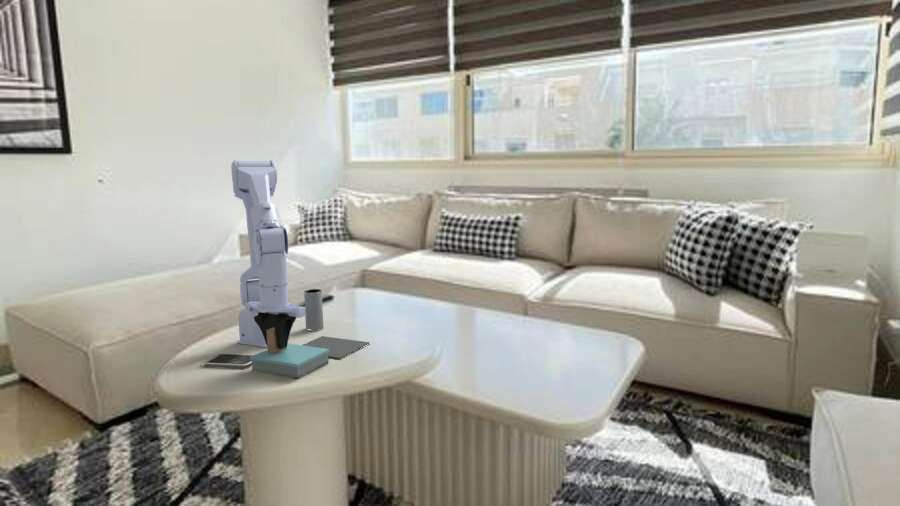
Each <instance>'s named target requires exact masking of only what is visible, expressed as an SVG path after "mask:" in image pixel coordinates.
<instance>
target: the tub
mask: <svg viewBox="0 0 900 506" xmlns="http://www.w3.org/2000/svg"><path fill="white" fill-rule="evenodd" d="M327 364H329V358H328V353H326V354H324V355H322V356H320V357H318V358H316V359H314V360H312V361H310V362H308V363H306V364H304V365H302V366H299V367H292V366H286V365H280V364H274V363H268V362H262V361H256V360H252V366H251V370H252V372H258V373H264V374H269V375H273V376H274V375H275V376H279V377H280V376H281V377H286V378H291V379H292V378H293V379H297V380H299V379H301V378H303V377H304V376H306V375H309V374H310V373H312V372H315V371H316V370H318V369H320V368H322V367H324V366H326V365H327Z"/></svg>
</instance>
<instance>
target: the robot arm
mask: <svg viewBox="0 0 900 506" xmlns="http://www.w3.org/2000/svg"><path fill="white" fill-rule="evenodd" d="M230 172H231V179H232V190H233V193H234V197H235V198H236V199H237V198H238V200H242V203H243V205H244V209H245V214H246V216H245V217H246V227H247V235H248V236H247V239H248V247H249V258H250V259H249V260H250V267H249V268H247V269H246V270H245V271H244V272H243V273H241V275H240V278H239V282H240V283H239V287H240V288H239V289H240V301H241V304H242V307H241V308H240V311H239V312H238V318H237V319H238V331H239V340H237V342H236V343H237V344H241V345H248V346H255V347H262V348H268V347H267V331H266V330H268V329H271V328H275V332H276V338H277V346H278V349H283V348H285V347H287V344H288V343H289V337H290V334H291V331H292V328H293V325H294V324H295V321H296V319H300V318H303V317H305V306H302V305H301V306H300V305H297V304H294V303H290V302H289V288H288V287H289V285H288V284H289V283H288V270H287V269H288V268H287V255H288V253H289V248H290V247H289V246H290V245H289V244H290V243H289V235H288V232H287V231H288V230H287V228H286V226H285V224H284V223H283V224H282V222H281V218H280V217H281V216H280V213H279V209H278V207H277V205H276V204H275V203H273V202H272V201H271V199H272V197H273V196H274V194H275V192H276V186H277V183H278V169H277V164H276V162H275V161H274V160H272V159H271V160H236V159H235V160H233V161H232V162H231V171H230Z"/></svg>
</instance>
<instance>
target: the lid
mask: <svg viewBox="0 0 900 506" xmlns="http://www.w3.org/2000/svg"><path fill="white" fill-rule="evenodd" d="M266 331H267V347H266V348H267V349H265V350H263V351H260V352H258V353H256V354H252V355H253V356H251V357H250V360H256V361H262V362H268V363H274V364H280V365H286V366H292V367H299V366H302V365H304V364H306V363H308V362H310V361H312V360H314V359H316V358H318V357H320V356H322V355H324V354H326V353H328V352H329V349H324V348H317V347H311V346H304V345H303V344H297V343H290V342H288V344H287V347H285V348H283V349H278V346H277V338H276V332H275V328H271V329H268V330H266Z"/></svg>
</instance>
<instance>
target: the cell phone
mask: <svg viewBox="0 0 900 506" xmlns="http://www.w3.org/2000/svg"><path fill="white" fill-rule="evenodd" d="M253 355H254V354H236V353H234V354H231V353H217V354H215V355H214V356H212V357H210V358H208V359H207V360H205V361H203V362H201V364H200V366H201V367H203V368H218V369H219V368H220V369H221V368H223V369H240V370H242V369H248V368H251V367H252V360H250V357H251V356H253Z"/></svg>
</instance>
